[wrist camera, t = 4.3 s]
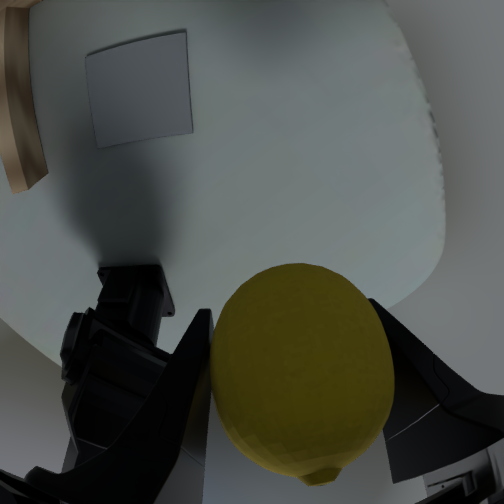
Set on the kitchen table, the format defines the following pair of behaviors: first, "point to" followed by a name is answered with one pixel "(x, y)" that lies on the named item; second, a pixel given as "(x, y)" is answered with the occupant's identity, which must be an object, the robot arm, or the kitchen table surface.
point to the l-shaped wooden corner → (18, 100)
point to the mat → (140, 90)
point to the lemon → (301, 372)
